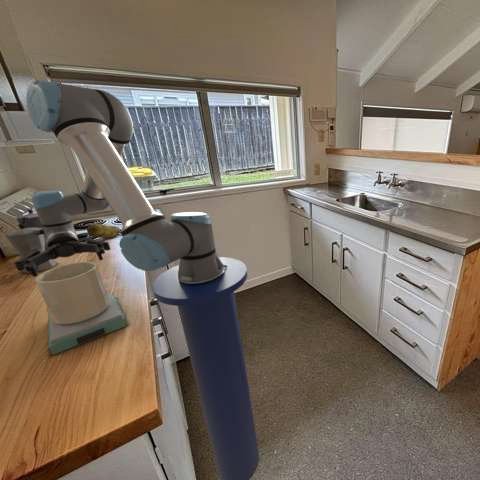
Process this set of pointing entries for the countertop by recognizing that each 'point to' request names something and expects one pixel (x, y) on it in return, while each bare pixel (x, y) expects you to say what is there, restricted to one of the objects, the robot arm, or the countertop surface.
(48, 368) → the countertop surface
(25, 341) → the countertop surface
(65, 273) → the cream round pot
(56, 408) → the countertop surface
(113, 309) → the kitchen scale
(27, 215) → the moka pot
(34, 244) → the coffeepot
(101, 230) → the potato
